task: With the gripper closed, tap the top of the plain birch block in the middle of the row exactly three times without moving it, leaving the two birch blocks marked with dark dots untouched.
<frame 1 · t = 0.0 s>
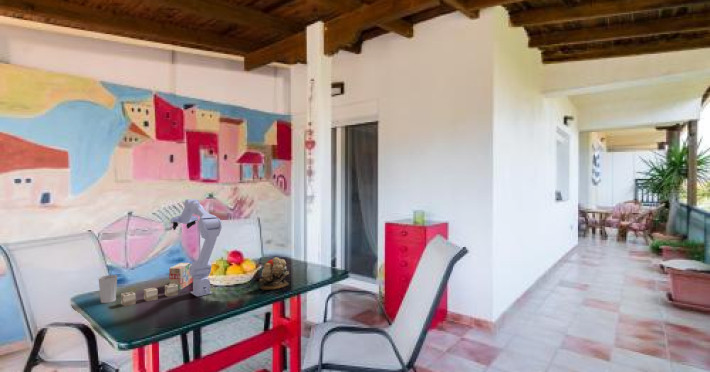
hand: (180, 227, 218), 32 cm above the table, tool tilted 50°, fingers open, 7 cm apart
stack of blocks: (184, 284, 215), on the table
dotted block 2: (171, 294, 196), on the table
plain block: (150, 299, 189), on the table
brown lumpy figurine: (275, 287, 211), on the table
dotted block 1: (128, 303, 182), on the table
cup: (108, 301, 186), on the table
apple: (273, 277, 231), on the table
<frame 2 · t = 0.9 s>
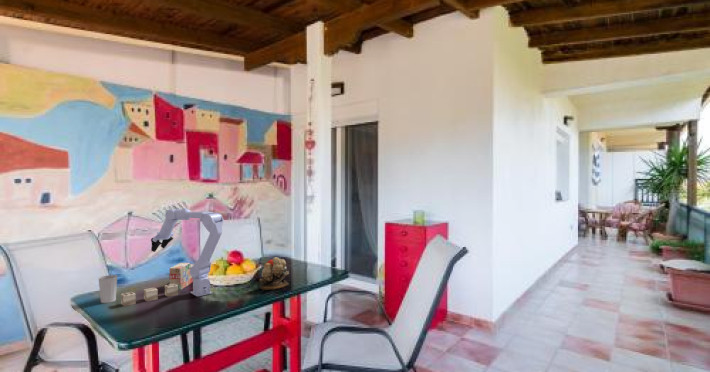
hand: (157, 249, 207), 22 cm above the table, tool tilted 30°, fingers open, 7 cm apart
nothing on the table moved.
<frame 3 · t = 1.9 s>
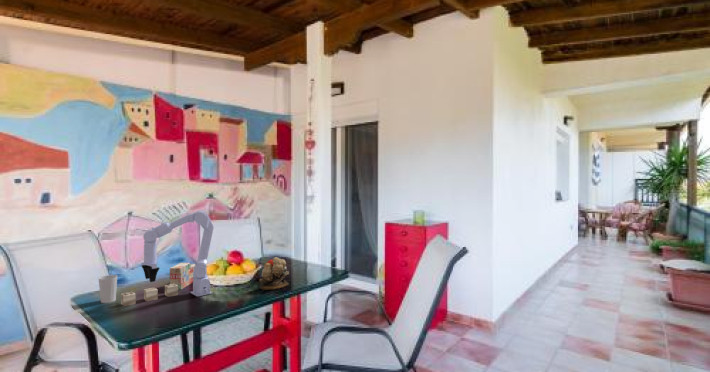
hand: (150, 280, 189), 10 cm above the table, tool pointing down, fingers open, 7 cm apart
nothing on the table moved.
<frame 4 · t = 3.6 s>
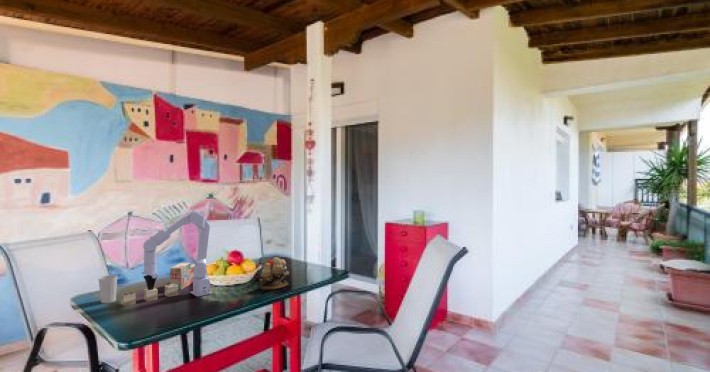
hand: (150, 289, 189), 5 cm above the table, tool pointing down, fingers closed
nothing on the table moved.
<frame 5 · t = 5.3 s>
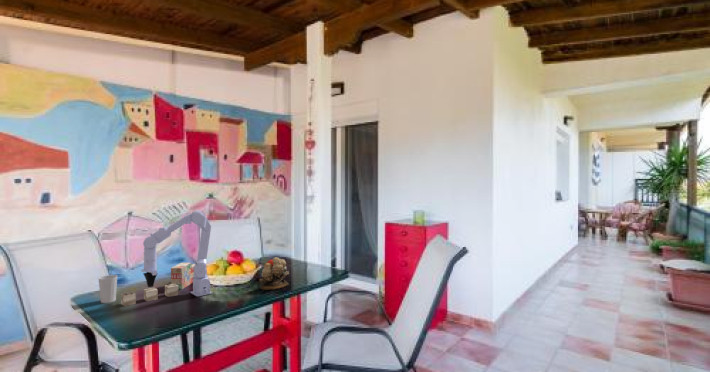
hand: (150, 286, 189), 6 cm above the table, tool pointing down, fingers closed
nothing on the table moved.
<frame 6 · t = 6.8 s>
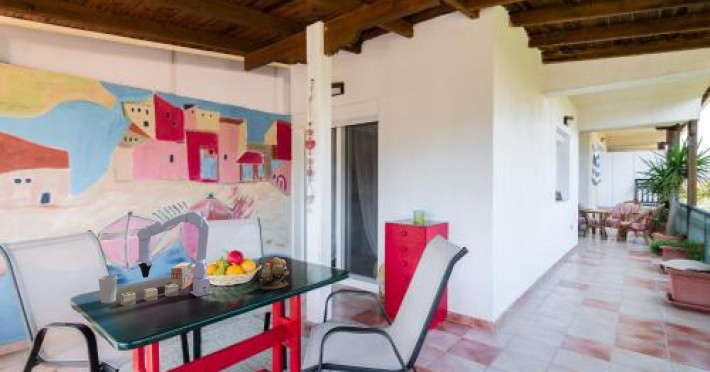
hand: (145, 277, 192), 10 cm above the table, tool pointing down, fingers closed
nothing on the table moved.
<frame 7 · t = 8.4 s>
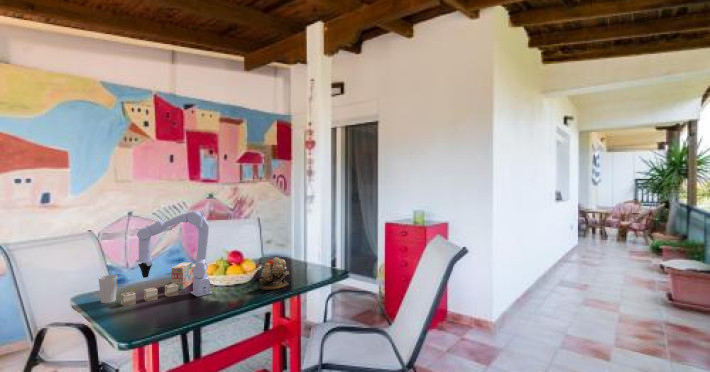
hand: (145, 277, 192), 10 cm above the table, tool pointing down, fingers closed
at the end: plain block moved 0.1 cm from its start; plain block tilted 0°; dotted block 2 moved 0.1 cm from its start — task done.
